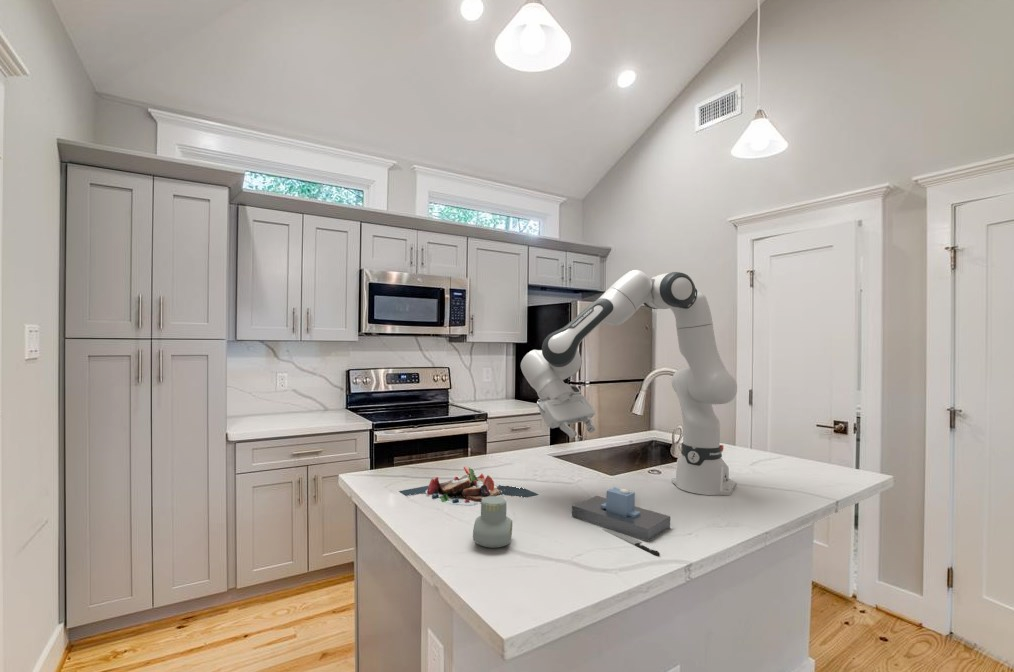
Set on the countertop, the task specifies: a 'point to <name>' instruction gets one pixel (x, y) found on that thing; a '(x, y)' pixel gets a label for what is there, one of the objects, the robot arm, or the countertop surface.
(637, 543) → the chef's knife
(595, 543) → the countertop surface
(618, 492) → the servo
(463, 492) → the platter
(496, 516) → the air freshener
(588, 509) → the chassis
